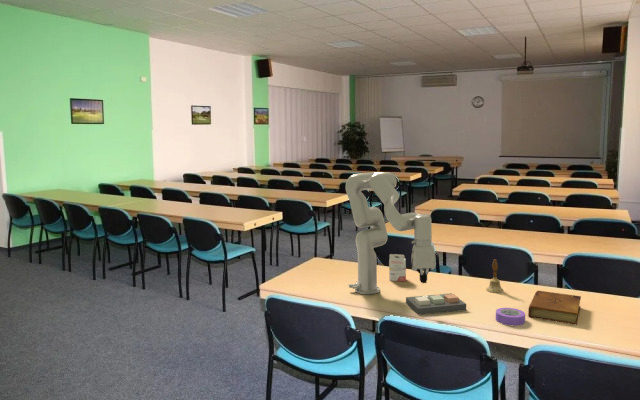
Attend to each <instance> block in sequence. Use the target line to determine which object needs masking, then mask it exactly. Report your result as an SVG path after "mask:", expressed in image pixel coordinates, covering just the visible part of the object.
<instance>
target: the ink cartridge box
mask: <svg viewBox="0 0 640 400" xmlns="http://www.w3.org/2000/svg"><path fill="white" fill-rule="evenodd" d="M406 260H407V259H406V258H405V254H396V253H395V254H393V253H390V254H389V260H388V270H389V271H388V273H389V275H388V276H389V281H392V282H393V281H394V282H395V281H396V282H405V281H406V279H407V266H406V265H407V263H406V262H407V261H406Z"/></svg>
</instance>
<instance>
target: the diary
mask: <svg viewBox="0 0 640 400" xmlns="http://www.w3.org/2000/svg"><path fill="white" fill-rule="evenodd" d="M581 298H582V296H581V295H576V294H575V295H574V294H573V295H572V294H566V293H559V292H551V291H546V290H545V291H544V290H536V292H535V293H534V295H533V298H532V299H531V302H530V304H529V306H528V313H527V314H528V315H527V316H528V318H532V319H538V320H544V321H545V320H546V321H551V322H556V321H557V323H562V322H563V324H568V323H570V324H569V325H575V324H576V325H578V322H579V315H580V310H581V306H580V303H581ZM577 321H578V322H577ZM576 325H575V326H576Z"/></svg>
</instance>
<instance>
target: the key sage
mask: <svg viewBox="0 0 640 400" xmlns="http://www.w3.org/2000/svg"><path fill="white" fill-rule="evenodd" d="M435 295H436V296H430V298H429V300H430V302H431V303H432V304H443V303H444V298H443V297H441V296H440V295H438V294H435Z"/></svg>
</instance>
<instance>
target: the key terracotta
mask: <svg viewBox="0 0 640 400" xmlns="http://www.w3.org/2000/svg"><path fill="white" fill-rule="evenodd" d="M447 294H448V295H444V300H445V301H446V302H447V303H454V302H459V299H460V297H459V296H457V295H456V294H455V293H452V294H449V293H447Z"/></svg>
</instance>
